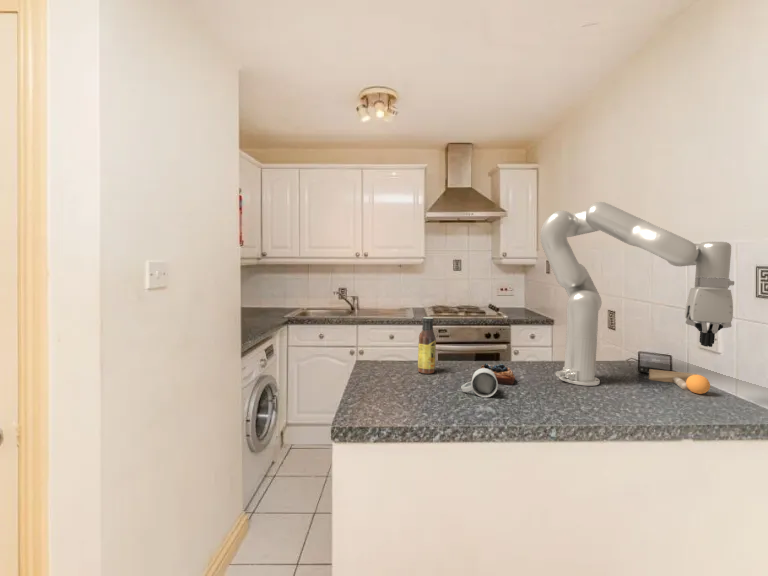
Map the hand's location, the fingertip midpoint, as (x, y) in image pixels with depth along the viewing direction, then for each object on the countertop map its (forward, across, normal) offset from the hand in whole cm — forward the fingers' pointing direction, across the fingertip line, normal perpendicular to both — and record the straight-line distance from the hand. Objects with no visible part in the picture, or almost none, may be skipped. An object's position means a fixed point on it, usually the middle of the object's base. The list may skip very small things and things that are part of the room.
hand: (706, 345), depth 112 cm
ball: (+14, -3, -10) cm, 17 cm away
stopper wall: (+17, 0, -22) cm, 28 cm away
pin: (+16, 0, -12) cm, 20 cm away
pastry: (+18, +59, +2) cm, 62 cm away
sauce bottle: (+17, +83, +3) cm, 85 cm away
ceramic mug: (+17, +63, +19) cm, 68 cm away
